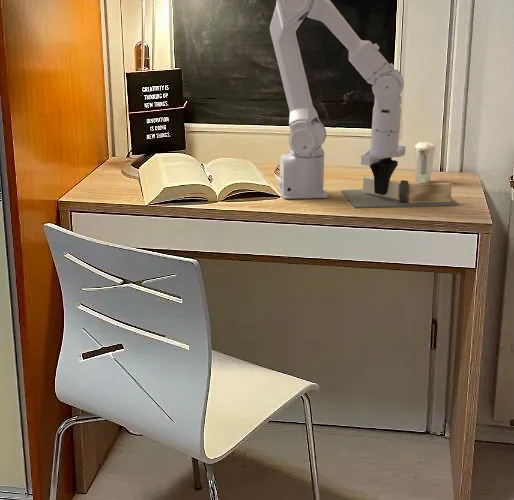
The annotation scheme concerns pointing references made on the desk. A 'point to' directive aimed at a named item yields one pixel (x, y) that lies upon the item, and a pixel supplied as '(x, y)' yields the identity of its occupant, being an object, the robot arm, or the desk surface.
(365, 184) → the fence gate
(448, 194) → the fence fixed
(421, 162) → the milkshake
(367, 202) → the card
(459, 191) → the desk surface
